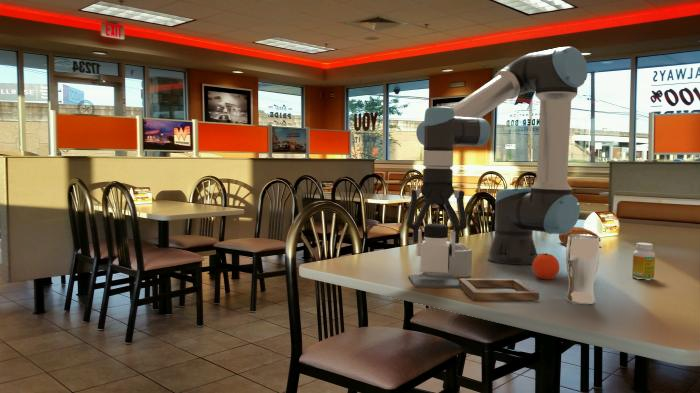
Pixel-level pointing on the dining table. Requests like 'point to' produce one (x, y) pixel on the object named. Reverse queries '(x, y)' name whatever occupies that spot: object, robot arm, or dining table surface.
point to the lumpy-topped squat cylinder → (458, 262)
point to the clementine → (545, 266)
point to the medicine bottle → (435, 249)
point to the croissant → (575, 231)
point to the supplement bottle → (643, 261)
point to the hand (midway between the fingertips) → (435, 255)
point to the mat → (435, 281)
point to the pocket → (521, 294)
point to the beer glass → (582, 267)
